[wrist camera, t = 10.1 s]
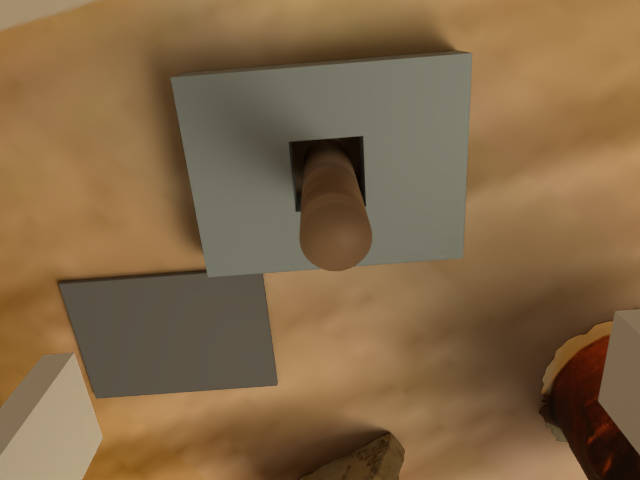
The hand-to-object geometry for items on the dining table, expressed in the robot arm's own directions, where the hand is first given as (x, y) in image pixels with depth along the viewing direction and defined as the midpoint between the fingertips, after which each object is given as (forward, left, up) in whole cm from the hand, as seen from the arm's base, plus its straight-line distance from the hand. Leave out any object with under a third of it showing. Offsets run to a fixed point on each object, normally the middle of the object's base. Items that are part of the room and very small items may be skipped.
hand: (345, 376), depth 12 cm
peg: (0, 0, -21) cm, 21 cm away
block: (0, 0, -21) cm, 21 cm away
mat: (-12, -12, -21) cm, 27 cm away
